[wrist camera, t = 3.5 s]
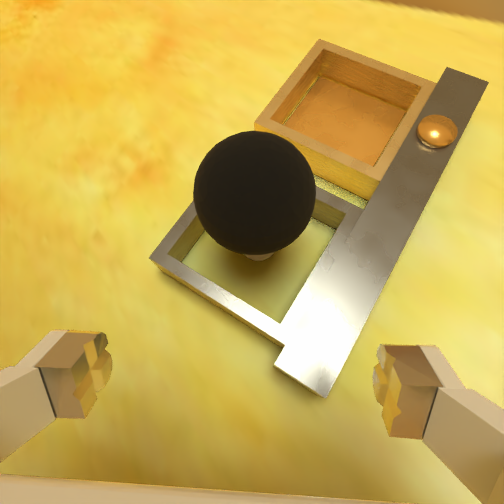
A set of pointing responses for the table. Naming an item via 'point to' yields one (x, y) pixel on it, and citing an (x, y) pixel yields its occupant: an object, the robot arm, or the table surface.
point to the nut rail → (336, 209)
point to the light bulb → (254, 193)
